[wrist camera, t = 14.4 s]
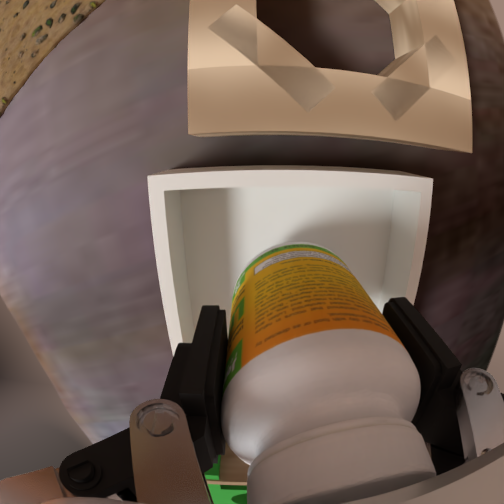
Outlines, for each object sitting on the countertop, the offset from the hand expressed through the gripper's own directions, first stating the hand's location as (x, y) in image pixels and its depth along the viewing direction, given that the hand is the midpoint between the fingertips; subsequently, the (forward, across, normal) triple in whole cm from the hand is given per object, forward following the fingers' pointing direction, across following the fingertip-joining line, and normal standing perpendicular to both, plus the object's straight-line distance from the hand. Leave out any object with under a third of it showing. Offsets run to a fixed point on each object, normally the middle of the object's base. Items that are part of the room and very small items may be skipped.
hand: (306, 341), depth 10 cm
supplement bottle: (+4, 0, 0) cm, 4 cm away
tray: (+6, 0, 0) cm, 6 cm away
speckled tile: (+6, +17, -18) cm, 25 cm away
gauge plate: (+6, -2, -13) cm, 14 cm away
